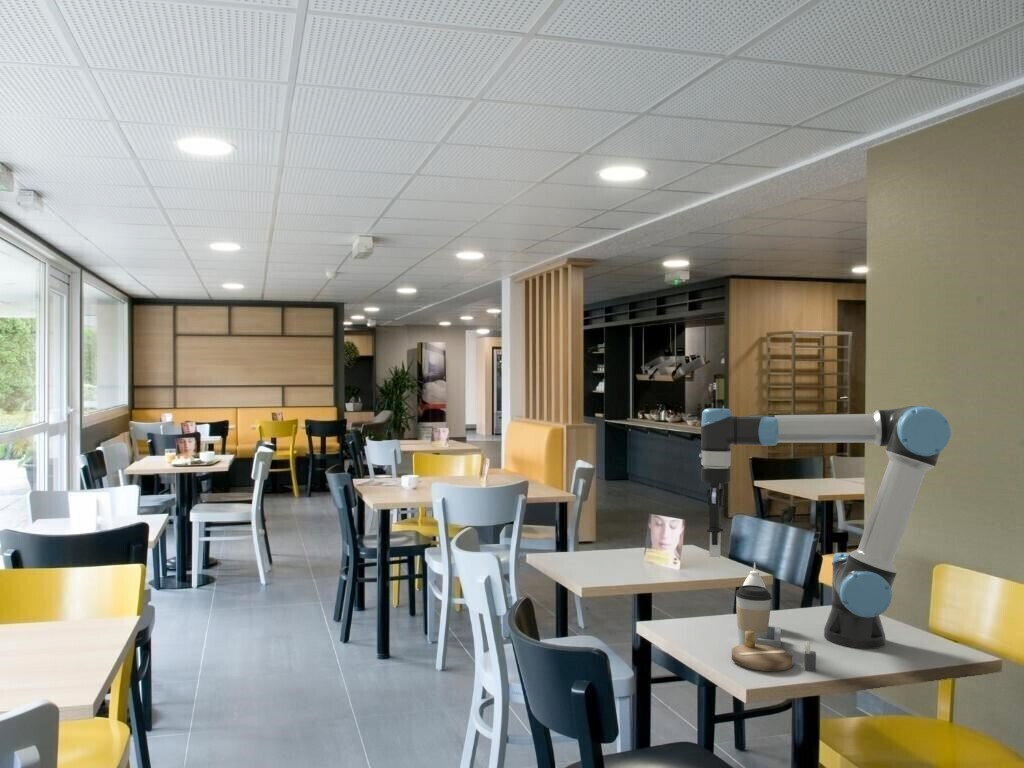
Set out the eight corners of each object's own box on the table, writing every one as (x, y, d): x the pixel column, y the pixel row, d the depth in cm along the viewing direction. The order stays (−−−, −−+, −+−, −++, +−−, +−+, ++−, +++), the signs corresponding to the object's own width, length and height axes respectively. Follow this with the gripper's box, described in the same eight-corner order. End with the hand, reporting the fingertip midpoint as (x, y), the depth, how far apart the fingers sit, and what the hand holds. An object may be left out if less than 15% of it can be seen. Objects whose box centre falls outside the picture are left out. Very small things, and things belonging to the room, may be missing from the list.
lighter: (815, 667, 200) (815, 640, 200) (815, 672, 197) (816, 644, 197) (804, 666, 200) (805, 639, 200) (804, 670, 197) (805, 642, 197)
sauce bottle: (765, 631, 229) (767, 566, 229) (736, 627, 232) (738, 562, 232) (769, 625, 236) (771, 561, 236) (741, 621, 239) (743, 558, 239)
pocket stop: (780, 640, 222) (780, 626, 222) (780, 656, 208) (780, 642, 208) (758, 637, 223) (759, 624, 223) (757, 653, 210) (757, 639, 210)
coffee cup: (765, 639, 221) (766, 583, 222) (774, 650, 212) (776, 591, 213) (730, 638, 222) (732, 582, 222) (738, 649, 213) (740, 590, 213)
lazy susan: (771, 650, 210) (771, 629, 210) (804, 668, 197) (804, 645, 197) (721, 653, 207) (721, 631, 207) (751, 672, 193) (751, 649, 193)
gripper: (703, 464, 228) (702, 551, 228) (698, 468, 215) (698, 560, 215) (731, 465, 225) (731, 553, 225) (728, 469, 213) (728, 562, 213)
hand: (714, 556), depth 220 cm, fingers closed
